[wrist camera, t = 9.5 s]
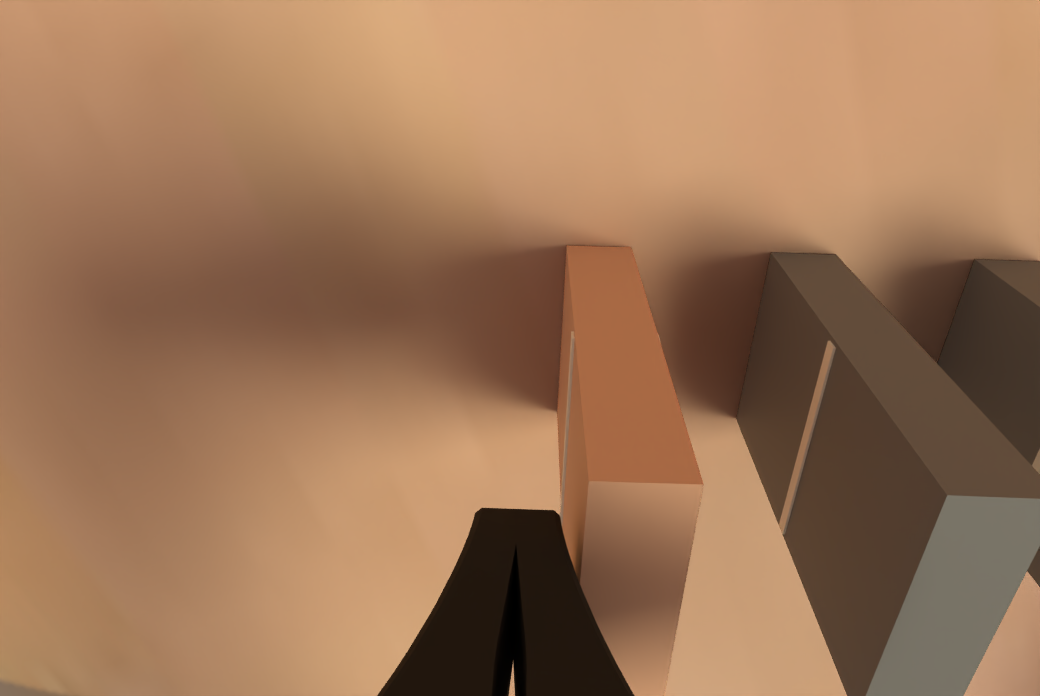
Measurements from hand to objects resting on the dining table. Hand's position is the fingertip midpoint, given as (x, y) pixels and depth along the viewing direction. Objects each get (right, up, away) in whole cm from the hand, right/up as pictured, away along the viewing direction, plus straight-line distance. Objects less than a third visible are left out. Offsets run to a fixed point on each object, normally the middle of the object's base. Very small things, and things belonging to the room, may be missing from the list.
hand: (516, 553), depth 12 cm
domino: (+7, +4, +7) cm, 10 cm away
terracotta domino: (+2, +4, +7) cm, 8 cm away
